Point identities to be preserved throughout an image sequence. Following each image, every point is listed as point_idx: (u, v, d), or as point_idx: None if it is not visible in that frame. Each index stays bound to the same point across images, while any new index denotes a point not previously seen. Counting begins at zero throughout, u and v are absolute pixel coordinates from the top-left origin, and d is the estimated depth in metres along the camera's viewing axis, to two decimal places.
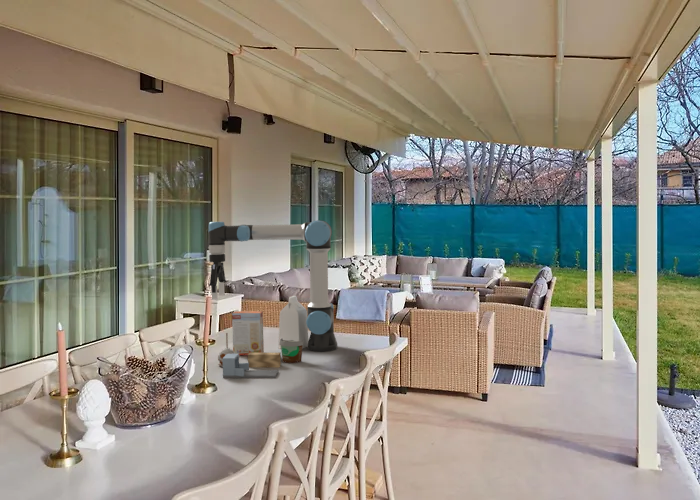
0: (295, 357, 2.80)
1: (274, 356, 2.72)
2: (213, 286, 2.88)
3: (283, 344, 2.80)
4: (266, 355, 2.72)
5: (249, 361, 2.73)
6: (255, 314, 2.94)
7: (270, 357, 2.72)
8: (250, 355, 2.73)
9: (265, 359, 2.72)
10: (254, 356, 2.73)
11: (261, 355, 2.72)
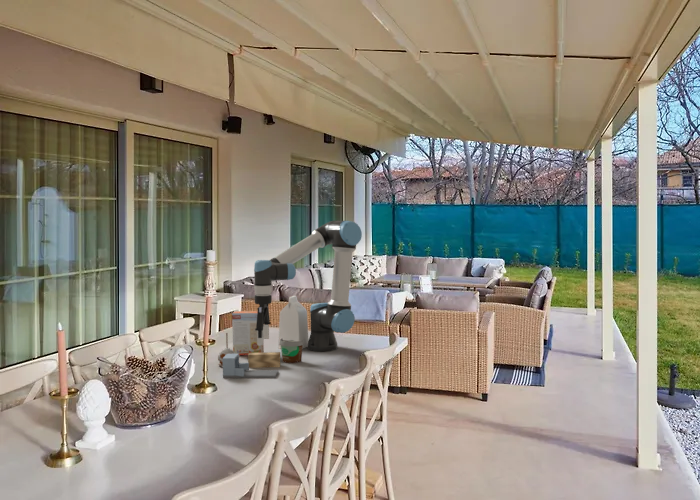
0: (295, 357, 2.80)
1: (275, 356, 2.73)
2: (259, 331, 2.65)
3: (283, 344, 2.80)
4: (266, 355, 2.72)
5: (249, 362, 2.72)
6: (255, 314, 2.94)
7: (270, 357, 2.73)
8: (250, 355, 2.72)
9: (265, 359, 2.72)
10: (254, 356, 2.72)
11: (261, 355, 2.72)
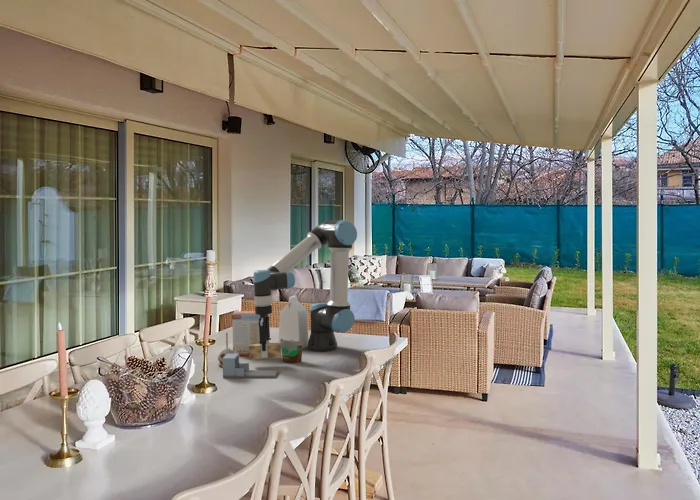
0: (295, 357, 2.80)
1: (276, 346, 2.73)
2: (263, 344, 2.70)
3: (283, 344, 2.80)
4: (267, 346, 2.73)
5: (250, 353, 2.72)
6: (255, 314, 2.94)
7: (272, 347, 2.73)
8: (251, 346, 2.72)
9: None
10: (255, 347, 2.72)
11: None
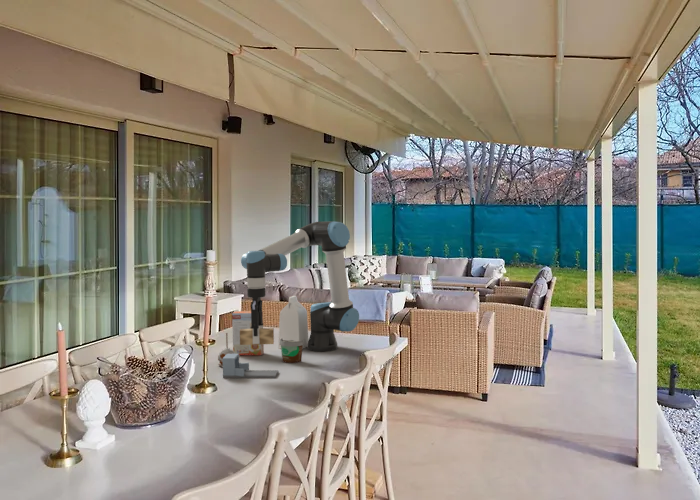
0: (295, 357, 2.80)
1: (268, 332, 2.57)
2: (255, 329, 2.54)
3: (283, 344, 2.80)
4: (259, 331, 2.57)
5: (241, 338, 2.56)
6: None
7: (264, 333, 2.57)
8: (242, 331, 2.56)
9: None
10: (246, 332, 2.56)
11: None
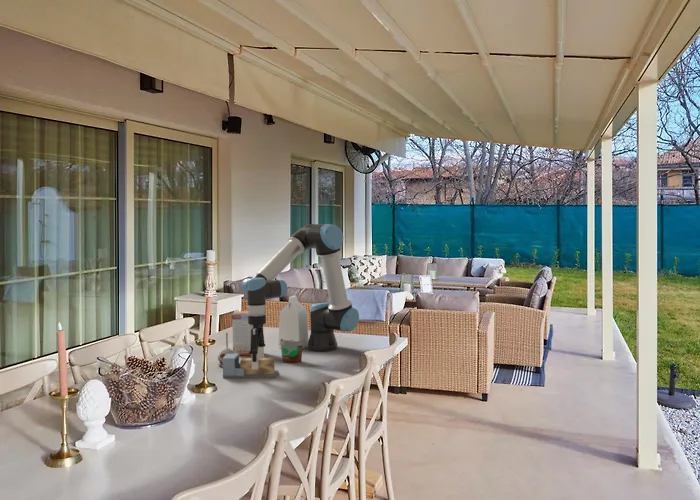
0: (295, 357, 2.80)
1: (269, 361, 2.58)
2: (254, 354, 2.51)
3: (283, 344, 2.80)
4: (260, 360, 2.58)
5: (241, 368, 2.57)
6: None
7: (264, 362, 2.58)
8: (243, 361, 2.57)
9: (259, 365, 2.58)
10: (247, 362, 2.57)
11: None
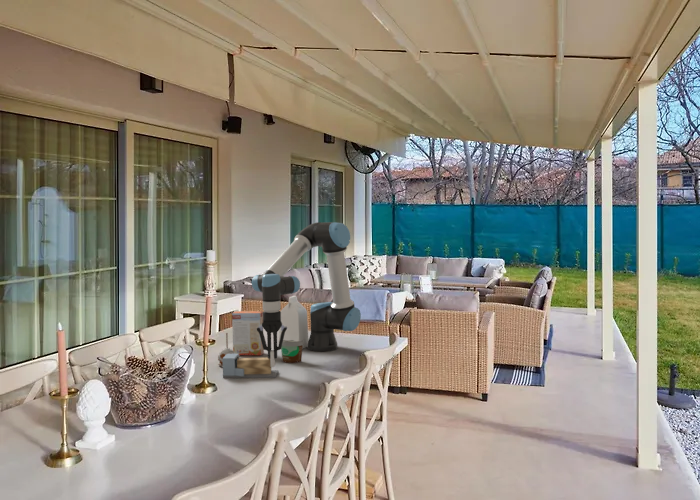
0: (295, 357, 2.80)
1: (265, 361, 2.58)
2: None
3: (283, 344, 2.80)
4: (257, 360, 2.58)
5: None
6: (255, 314, 2.94)
7: (261, 362, 2.58)
8: (239, 361, 2.57)
9: (256, 365, 2.58)
10: (244, 362, 2.57)
11: (251, 361, 2.57)
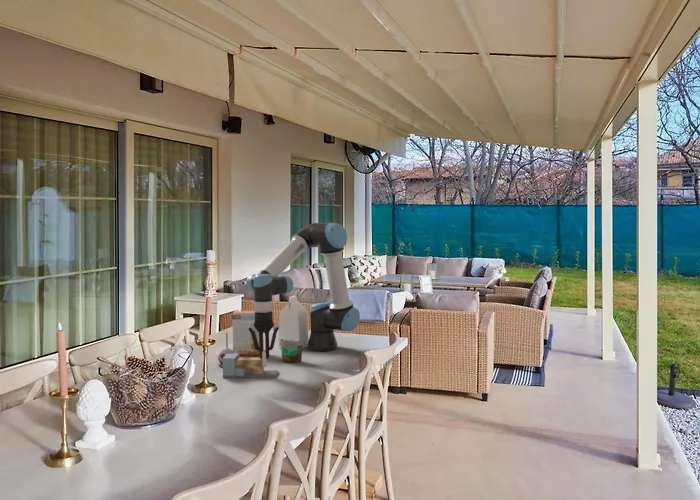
0: (295, 357, 2.80)
1: (257, 361, 2.58)
2: None
3: (283, 344, 2.80)
4: (249, 360, 2.58)
5: None
6: None
7: (253, 362, 2.58)
8: None
9: (248, 365, 2.58)
10: (236, 362, 2.58)
11: (243, 361, 2.58)
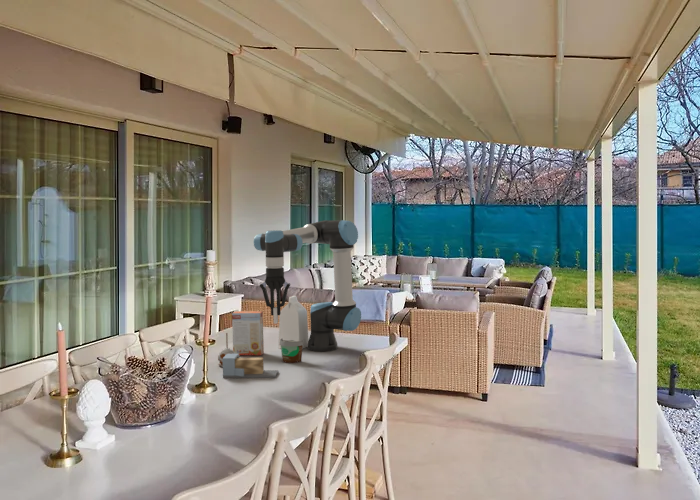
0: (295, 357, 2.80)
1: (257, 361, 2.58)
2: None
3: (283, 344, 2.80)
4: (248, 360, 2.58)
5: None
6: (255, 314, 2.94)
7: (253, 362, 2.58)
8: None
9: (247, 365, 2.58)
10: (236, 362, 2.58)
11: (243, 361, 2.58)
